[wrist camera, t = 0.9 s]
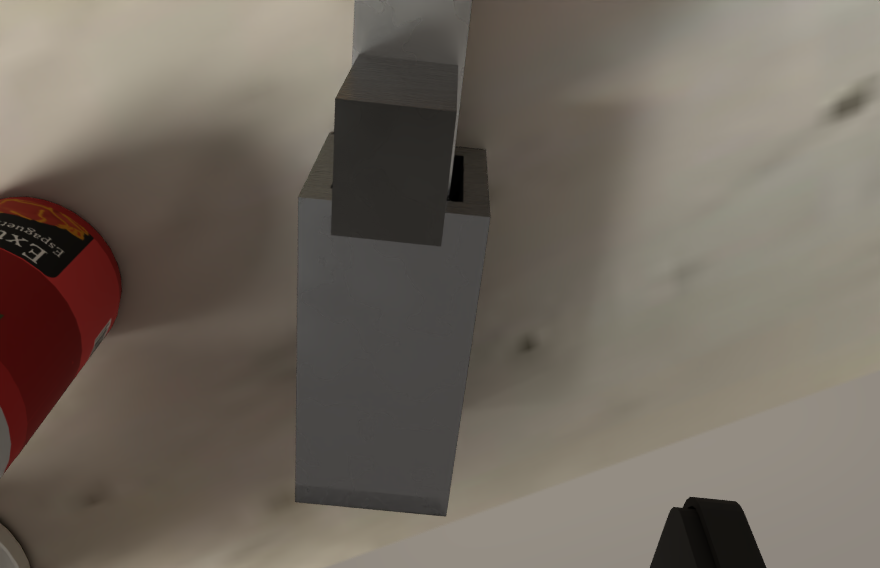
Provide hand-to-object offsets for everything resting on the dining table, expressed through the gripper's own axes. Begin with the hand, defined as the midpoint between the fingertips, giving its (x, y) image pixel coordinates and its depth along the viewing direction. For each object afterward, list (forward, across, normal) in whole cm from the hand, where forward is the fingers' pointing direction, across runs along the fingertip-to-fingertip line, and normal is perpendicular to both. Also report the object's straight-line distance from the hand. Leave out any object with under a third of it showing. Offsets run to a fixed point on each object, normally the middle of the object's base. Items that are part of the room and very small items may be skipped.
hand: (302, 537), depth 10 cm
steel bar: (+21, 0, +5) cm, 22 cm away
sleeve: (+23, 0, +10) cm, 25 cm away
